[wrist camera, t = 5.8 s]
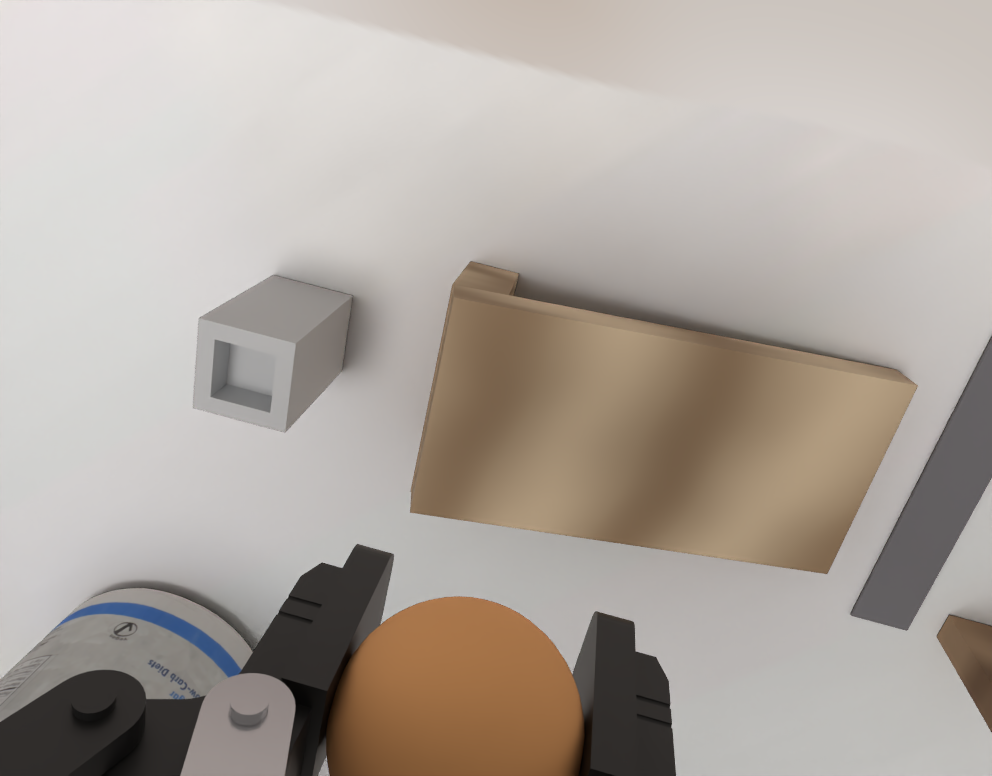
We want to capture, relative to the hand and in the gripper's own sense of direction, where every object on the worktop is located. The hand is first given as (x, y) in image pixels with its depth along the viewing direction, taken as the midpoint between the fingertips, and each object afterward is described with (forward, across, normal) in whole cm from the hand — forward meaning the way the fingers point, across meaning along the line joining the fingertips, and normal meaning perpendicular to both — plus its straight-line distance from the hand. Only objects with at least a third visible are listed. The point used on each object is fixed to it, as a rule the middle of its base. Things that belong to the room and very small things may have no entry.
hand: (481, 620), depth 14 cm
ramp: (+12, -4, 0) cm, 13 cm away
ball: (-1, 0, 0) cm, 1 cm away
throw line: (+12, -14, 0) cm, 18 cm away
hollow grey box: (+12, +8, 0) cm, 15 cm away
